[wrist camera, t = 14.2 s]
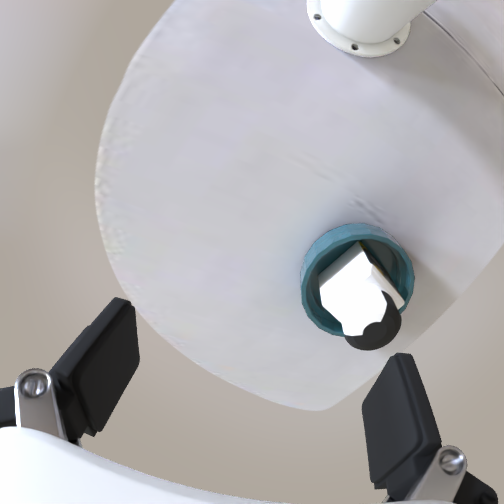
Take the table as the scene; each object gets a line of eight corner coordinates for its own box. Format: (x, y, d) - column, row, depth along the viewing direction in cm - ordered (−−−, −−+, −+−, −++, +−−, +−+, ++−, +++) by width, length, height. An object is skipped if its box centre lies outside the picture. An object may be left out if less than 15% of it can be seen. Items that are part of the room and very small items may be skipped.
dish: (316, 209, 36) (319, 221, 32) (417, 237, 35) (431, 250, 31) (289, 307, 42) (288, 326, 38) (380, 324, 41) (387, 344, 37)
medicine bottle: (390, 275, 37) (420, 329, 26) (350, 308, 40) (365, 368, 29) (358, 239, 36) (383, 286, 25) (316, 275, 39) (324, 332, 28)
